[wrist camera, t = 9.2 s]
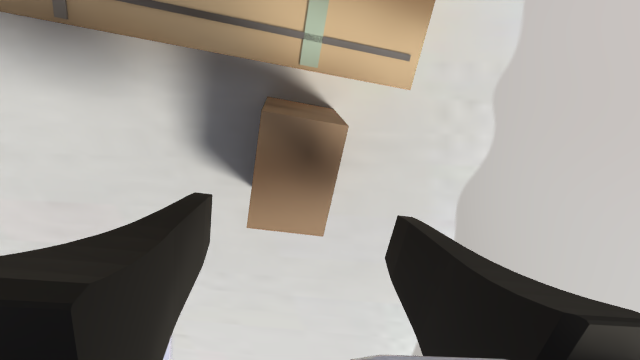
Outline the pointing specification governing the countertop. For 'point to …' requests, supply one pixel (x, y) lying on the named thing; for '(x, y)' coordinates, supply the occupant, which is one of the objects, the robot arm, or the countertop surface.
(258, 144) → the walnut block
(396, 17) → the oak board
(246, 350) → the countertop surface
